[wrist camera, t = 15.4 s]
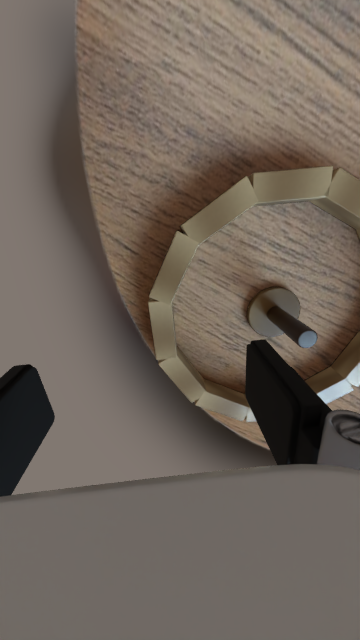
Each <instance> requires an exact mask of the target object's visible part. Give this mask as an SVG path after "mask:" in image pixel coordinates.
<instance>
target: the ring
mask: <svg viewBox="0 0 360 640" xmlns="http://www.w3.org/2000/svg"><path fill="white" fill-rule="evenodd" d="M307 201H309V202H311V203H313V204H314V205H316V206H318V207H319V208H321V209H323V210H324V211H326V212H328V213H329V214H331V215H333V216H334V217H336V218H338V219H339V220H341V221H343V222H344V223H346V224H348V225H349V226H351V227H353V228H354V229H356V231H357V234H358V237H359V240H360V180H358V179H357V178H355V177H354V176H352V175H351V174H349V173H348V172H346V171H345V170H343V169H342V168H340V167H339V168H337V169H334V170H333V166H323V167H312V168H301V169H290V170H279V171H269V172H258V173H253V174H252V175H250V176H249V177H247V176H245V177H244V178H243V179H241V180H240V181H239V182H237V183H236V184H235V185H233V186H232V187H231V188H229V189H228V190H227V191H226V192H224V193H223V194H222V195H220V196H219V197H218V198H216V199H215V200H214V201H212V202H211V203H210V204H208V205H207V206H206V207H204V208H203V209H202V210H200V211H199V212H198V213H196V214H195V215H194V216H193V217H191V218H190V219H189V220H187V221H186V222H185V223H183V224H182V225H181V226H180V227H181V229H182V230H183V232H184V234H183V233H181V232H179V231H176V233H175V235H174V237H173V240H172V242H171V244H170V247H169V249H168V251H167V254H166V256H165V258H164V261H163V263H162V265H161V268H160V270H159V272H158V275H157V277H156V279H155V282H154V284H153V286H152V289H151V291H150V294H149V297H150V298H149V301H148V307H149V314H150V321H151V327H152V334H153V341H154V348H155V355H156V360H159V362H158V365H159V366H160V367H161V368H162V369H163V370H164V371H165V373H166V374H167V375H168V376H169V377H170V378H171V380H172V381H173V382H174V383H175V384H176V385H177V386H178V388H179V389H180V390H181V391H182V392H183V393H184V394H185V396H186V397H187V398H188V399H189V400H190V401H191V402H194V401H195V405H197V406H200V407H203V408H205V409H208V410H211V411H214V412H217V413H220V414H222V415H225V416H228V417H231V418H234V419H237V420H239V421H243V419H244V418H245V420H246V422H252V421H256V419H255V417H254V414H253V412H252V410H251V408H250V406H249V404H248V402H247V399H246V395H245V394H243V393H240V392H237V391H235V390H232V389H229V388H227V387H224V386H221V385H219V384H216V383H213V382H211V381H208V380H206V379H203V377H202V376H201V375H200V374H199V372H198V371H197V370H196V369H195V367H194V366H193V365H192V364H191V362H190V361H189V360H188V359H187V357H186V356H185V355H184V354H183V352H182V351H181V350H180V349H179V347H178V346H177V345H176V336H175V326H174V316H173V307H172V301H173V299H174V296H175V294H176V292H177V290H178V288H179V286H180V284H181V282H182V279H183V277H184V275H185V273H186V271H187V269H188V267H189V265H190V262H191V260H192V258H193V256H194V254H195V252H196V250H197V248H198V246H199V245H200V244H201V243H203V242H204V241H206V240H207V239H208V238H210V237H211V236H212V235H214V234H215V233H217V232H218V231H219V230H221V229H222V228H224V227H225V226H226V225H228V224H229V223H230V222H232V221H233V220H235V219H236V218H237V217H239V216H240V215H241V214H243V213H244V212H246V211H247V210H248V209H250V208H251V207H253V206H264V205H274V204H285V203H296V202H307ZM305 382H306V383H307V384H308V385H309V386H310V387H311V388H312V389H313V391H314V392H315V393H316V394H317V395H318V396H319V397H320V398H321V399H322V400H323V401H324V403H325V404H327V403H329V402H331V401H333V400H335V399H337V398H339V397H341V396H343V395H345V394H347V393H349V392H351V391H353V388H352V386H351V384H352V385H354V386H356V387H358V386H359V385H360V331H359V332H358V333H357V335H356V336H355V337H354V338H353V339H352V341H351V342H350V343H349V344H348V346H347V347H346V348H345V349H344V351H343V352H342V353H341V354H340V356H339V357H338V358H337V359H336V360H335V362H334V363H333V364H332V365H331V367H329V368H327V369H325V370H323V371H321V372H320V373H318V374H316V375H314V376H312V377H310V378H308V379H307V380H305Z"/></svg>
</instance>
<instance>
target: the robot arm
mask: <svg viewBox="0 0 360 640" xmlns="http://www.w3.org/2000/svg"><path fill="white" fill-rule="evenodd" d="M245 395H246V399H247V402H248V404H249V406H250V408H251V410H252V412H253V414H254V417H255V419H256V421H257V423H258V425H259V427H260V429H261V431H262V433H263V435H264V438H265V440H266V442H267V444H268V446H269V448H270V450H271V452H272V454H273V456H274V458H275V461H276V463H277V465H274V466H264V467H253V468H242V469H231V470H222V471H213V472H204V473H195V474H187V475H178V476H169V477H160V478H151V479H142V480H134V481H125V482H118V483H108V484H100V485H91V486H83V487H75V488H66V489H58V490H50V491H41V492H34V493H26V494H17V495H11V494H12V493H13V491H14V489H15V487H16V486H17V484H18V482H19V481H20V479H21V477H22V475H23V474H24V472H25V470H26V468H27V467H28V465H29V463H30V461H31V460H32V458H33V456H34V455H35V453H36V451H37V450H38V448H39V446H40V445H41V443H42V441H43V439H44V438H45V436H46V434H47V432H48V431H49V429H50V427H51V426H52V424H53V422H54V417H55V416H54V412H53V410H52V407H51V404H50V402H49V399H48V397H47V394H46V392H45V389H44V387H43V384H42V381H41V379H40V376H39V374H38V371H37V369H36V368H35V367H33V366H31V365H29V364H28V365H19V366H14V367H12V368H11V369H10V370H9V371H8V372H7V373H5V374H4V375H3V376H2V377H1V378H0V640H360V414H359V413H356V412H353V411H349V410H334V411H332V410H331V409H330V408H329V407H328V406H327V405H326V404H325V403H324V401H323V400H322V399H321V398H320V397H319V396H318V395H317V394H316V393H315V392H314V391H313V389H312V388H311V387H310V386H309V385H308V384H307V383H306V382H305V381H304V380H303V379H302V378H301V376H300V375H299V374H298V373H297V372H296V371H295V370H294V369H293V368H292V367H290V366H289V365H288V364H287V363H286V362H285V361H284V360H283V359H282V357H281V356H280V355H279V354H278V353H277V352H276V351H275V350H274V349H273V348H272V346H271V345H270V344H269V343H268V342H267V341H266V340H255V341H251V344H248V345H247V355H246V387H245Z"/></svg>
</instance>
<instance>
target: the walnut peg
mask: <svg viewBox="0 0 360 640" xmlns="http://www.w3.org/2000/svg"><path fill="white" fill-rule="evenodd" d="M299 314H300V303H299V300H298V298H297V297H296V295H295V294H294V293H292V292H291V291H289V290H287V289H285V288H282V287H271V288H267V289H265V290H263V291H261V292H259V293H258V294H257V295H256V296H255V297H254V298H253V299H252V301H251V302H250V304H249V307H248V310H247V319H248V322H249V324H250V326H251V327H252V329H253V330H254V331H255V332H256V333H258V334H260V335H262V336H266V337H275V336H279V335H282V334H284V333H285V334H286V335H287V336H288V337H290V338H291V339H292V340H293V341H294V342H295V343H296V344H297V345H299V346H300V347H302V348H309V347H311V346H313V345H314V344H315V343H316V341H317V333H316V332H315V331H314V330H312V329H311V328H309V327H308V326H306V325H305V324H303V323H302V322H301V321H299V320H298V318H299Z"/></svg>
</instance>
